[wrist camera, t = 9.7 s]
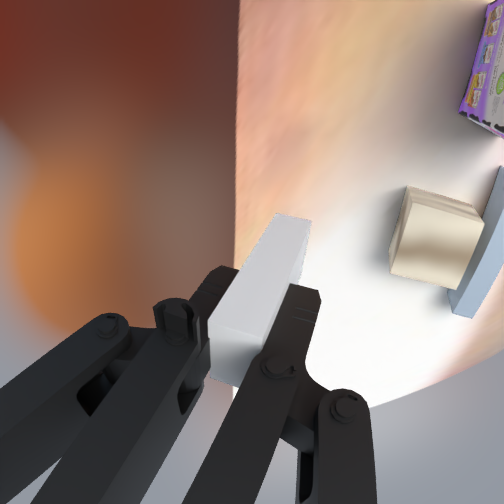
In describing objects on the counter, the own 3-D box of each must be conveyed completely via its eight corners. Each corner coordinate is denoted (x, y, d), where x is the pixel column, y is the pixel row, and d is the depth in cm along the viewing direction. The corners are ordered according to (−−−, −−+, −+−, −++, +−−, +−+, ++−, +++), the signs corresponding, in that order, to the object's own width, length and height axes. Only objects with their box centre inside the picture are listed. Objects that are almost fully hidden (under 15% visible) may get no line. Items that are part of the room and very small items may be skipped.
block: (406, 185, 31) (412, 202, 27) (471, 204, 29) (484, 223, 25) (388, 249, 35) (389, 273, 31) (448, 264, 33) (456, 289, 29)
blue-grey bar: (500, 165, 25) (514, 177, 22) (520, 174, 25) (535, 187, 21) (447, 292, 35) (452, 313, 31) (466, 298, 34) (472, 318, 31)
